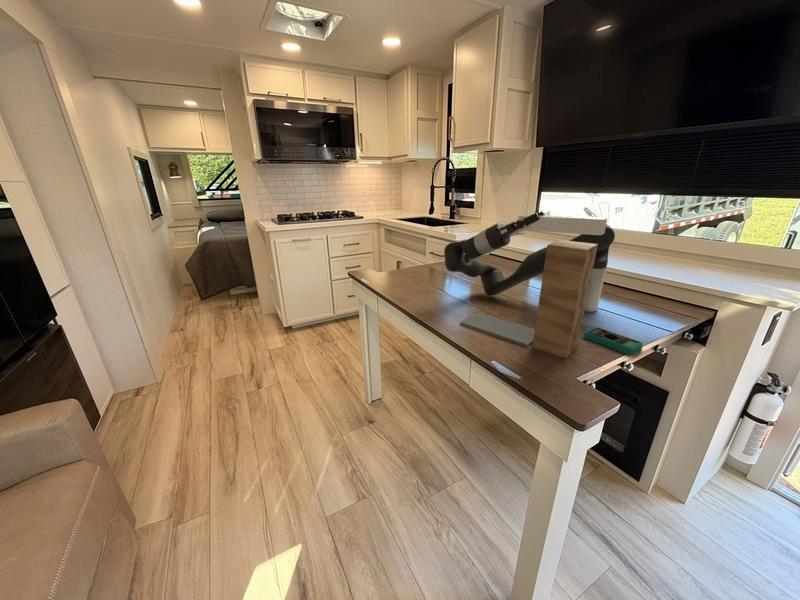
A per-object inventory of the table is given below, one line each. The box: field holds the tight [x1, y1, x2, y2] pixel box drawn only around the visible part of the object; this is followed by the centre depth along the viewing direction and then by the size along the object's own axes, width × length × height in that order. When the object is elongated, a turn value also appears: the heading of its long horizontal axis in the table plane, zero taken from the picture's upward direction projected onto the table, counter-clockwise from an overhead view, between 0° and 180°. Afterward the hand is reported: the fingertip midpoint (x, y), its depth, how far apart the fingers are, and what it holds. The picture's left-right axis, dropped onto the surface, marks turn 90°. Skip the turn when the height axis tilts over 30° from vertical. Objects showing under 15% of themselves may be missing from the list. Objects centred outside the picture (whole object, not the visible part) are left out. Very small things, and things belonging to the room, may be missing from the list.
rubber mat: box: [459, 312, 535, 348], centre depth 113 cm, size 12×25×1 cm, turn 46°
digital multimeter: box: [583, 326, 644, 356], centre depth 102 cm, size 7×15×3 cm, turn 34°
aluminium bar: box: [518, 214, 608, 235], centre depth 91 cm, size 4×22×4 cm, turn 46°
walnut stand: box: [531, 239, 598, 359], centre depth 95 cm, size 10×10×32 cm
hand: (540, 215), depth 93 cm, fingers closed on aluminium bar, 4 cm apart
